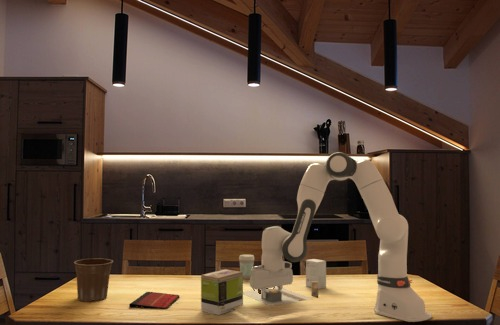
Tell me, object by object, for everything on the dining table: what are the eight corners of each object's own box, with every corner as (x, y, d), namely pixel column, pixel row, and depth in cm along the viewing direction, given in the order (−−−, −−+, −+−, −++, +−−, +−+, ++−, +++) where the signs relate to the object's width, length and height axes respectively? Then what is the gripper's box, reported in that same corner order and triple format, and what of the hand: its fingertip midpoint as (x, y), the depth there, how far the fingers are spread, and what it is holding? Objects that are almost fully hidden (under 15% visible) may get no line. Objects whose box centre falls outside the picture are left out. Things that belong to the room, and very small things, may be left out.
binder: (129, 303, 187) (146, 291, 208) (128, 309, 187) (146, 296, 208) (167, 306, 185) (181, 293, 206) (167, 312, 185) (180, 299, 206)
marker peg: (319, 297, 206) (319, 282, 206) (314, 298, 204) (314, 282, 204) (315, 296, 208) (315, 280, 209) (310, 297, 207) (310, 281, 207)
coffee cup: (236, 276, 249) (236, 254, 249) (251, 276, 251) (251, 253, 252) (241, 280, 241) (241, 257, 241) (256, 279, 243) (256, 256, 244)
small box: (326, 287, 226) (326, 260, 227) (317, 289, 222) (317, 262, 223) (314, 284, 232) (314, 258, 233) (305, 286, 228) (305, 259, 229)
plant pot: (119, 295, 207) (120, 259, 207) (98, 304, 191) (99, 265, 192) (88, 292, 211) (88, 257, 212) (65, 301, 196) (65, 263, 196)
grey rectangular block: (281, 300, 194) (281, 291, 194) (271, 302, 192) (272, 293, 192) (270, 296, 201) (271, 287, 201) (261, 298, 198) (261, 289, 198)
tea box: (225, 303, 195) (225, 268, 196) (243, 307, 189) (243, 271, 189) (200, 311, 183) (200, 273, 184) (218, 316, 177) (218, 277, 178)
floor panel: (312, 302, 198) (313, 298, 198) (270, 309, 186) (270, 305, 187) (278, 289, 220) (278, 286, 220) (238, 295, 209) (238, 292, 209)
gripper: (255, 267, 189) (254, 301, 188) (295, 263, 199) (294, 295, 199) (247, 265, 194) (246, 298, 194) (286, 261, 205) (286, 292, 204)
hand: (271, 297), depth 196 cm, fingers closed on grey rectangular block, 5 cm apart
